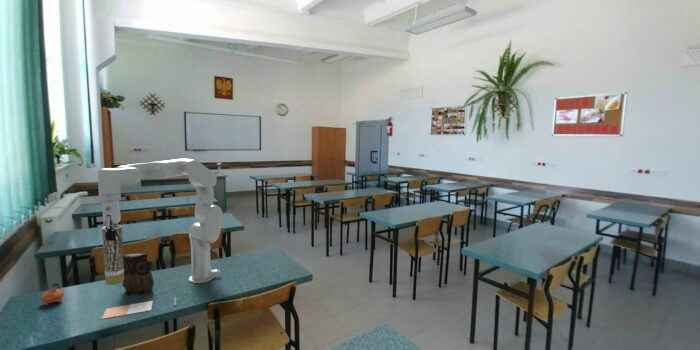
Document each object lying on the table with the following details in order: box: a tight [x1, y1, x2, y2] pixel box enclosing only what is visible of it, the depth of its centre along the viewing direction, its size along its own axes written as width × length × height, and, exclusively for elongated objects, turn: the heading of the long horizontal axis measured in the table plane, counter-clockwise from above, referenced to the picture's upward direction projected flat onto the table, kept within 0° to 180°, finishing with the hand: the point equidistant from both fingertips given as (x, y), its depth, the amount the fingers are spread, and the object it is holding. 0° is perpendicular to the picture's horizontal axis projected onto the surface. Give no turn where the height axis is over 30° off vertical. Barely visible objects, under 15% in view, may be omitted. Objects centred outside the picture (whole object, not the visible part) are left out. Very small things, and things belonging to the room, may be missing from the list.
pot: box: [40, 288, 65, 306], centre depth 152 cm, size 8×8×7 cm
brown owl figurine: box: [122, 253, 155, 296], centre depth 164 cm, size 13×13×20 cm
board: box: [101, 296, 177, 320], centre depth 150 cm, size 28×9×1 cm, turn 117°
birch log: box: [101, 224, 124, 286], centre depth 143 cm, size 7×7×25 cm
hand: (112, 237), depth 142 cm, fingers closed on birch log, 6 cm apart
